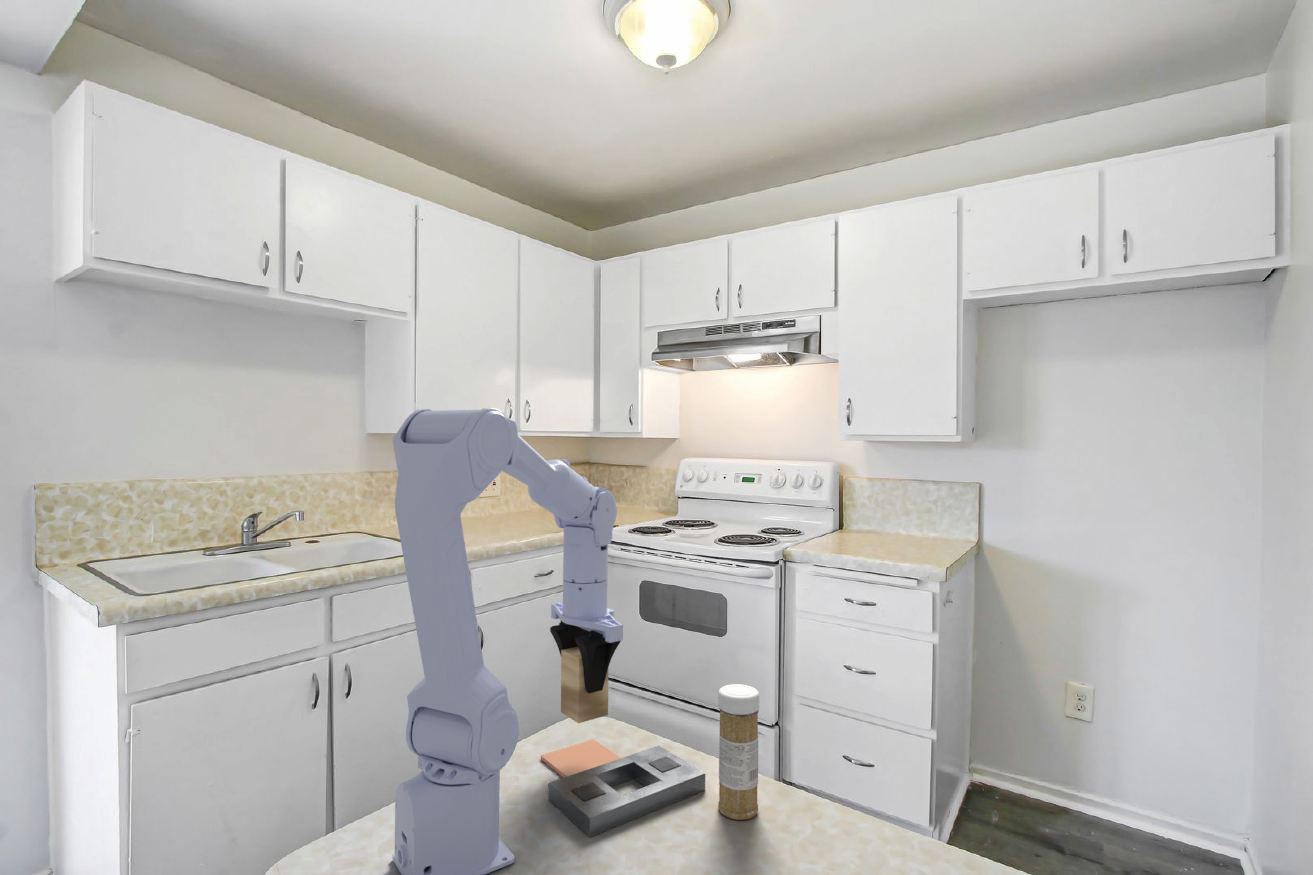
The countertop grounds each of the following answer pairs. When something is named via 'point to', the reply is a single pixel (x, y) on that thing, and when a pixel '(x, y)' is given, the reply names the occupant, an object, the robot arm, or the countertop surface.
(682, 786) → the square hole bar
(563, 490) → the robot arm
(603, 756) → the tile
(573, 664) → the wooden peg
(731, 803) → the sprinkles bottle
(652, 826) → the countertop surface
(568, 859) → the countertop surface
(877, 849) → the countertop surface
